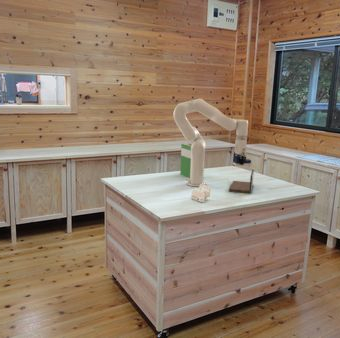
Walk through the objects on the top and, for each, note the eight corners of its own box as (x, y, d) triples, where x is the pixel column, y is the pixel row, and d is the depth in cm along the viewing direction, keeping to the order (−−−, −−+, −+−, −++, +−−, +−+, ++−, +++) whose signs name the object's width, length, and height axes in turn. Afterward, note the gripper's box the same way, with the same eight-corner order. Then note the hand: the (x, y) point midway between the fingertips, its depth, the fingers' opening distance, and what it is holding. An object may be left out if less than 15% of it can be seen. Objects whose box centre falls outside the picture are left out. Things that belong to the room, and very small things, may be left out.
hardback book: (180, 173, 303) (181, 144, 298) (188, 172, 307) (189, 143, 301) (192, 178, 288) (193, 147, 283) (200, 177, 292) (201, 147, 287)
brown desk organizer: (229, 191, 255) (230, 174, 253) (233, 183, 278) (234, 167, 275) (250, 193, 252) (252, 176, 249) (252, 185, 275) (253, 168, 272)
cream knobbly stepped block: (208, 204, 232) (214, 188, 233) (202, 202, 228) (208, 185, 229) (195, 199, 241) (201, 183, 242) (188, 197, 237) (194, 181, 238)
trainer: (235, 165, 260) (236, 157, 259) (232, 164, 265) (233, 155, 264) (251, 165, 264) (252, 156, 262) (248, 163, 268) (249, 155, 267)
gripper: (231, 136, 267) (229, 161, 270) (241, 139, 251) (239, 166, 254) (241, 136, 269) (239, 161, 272) (252, 139, 253) (250, 166, 256)
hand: (239, 163), depth 263 cm, fingers closed on trainer, 5 cm apart
